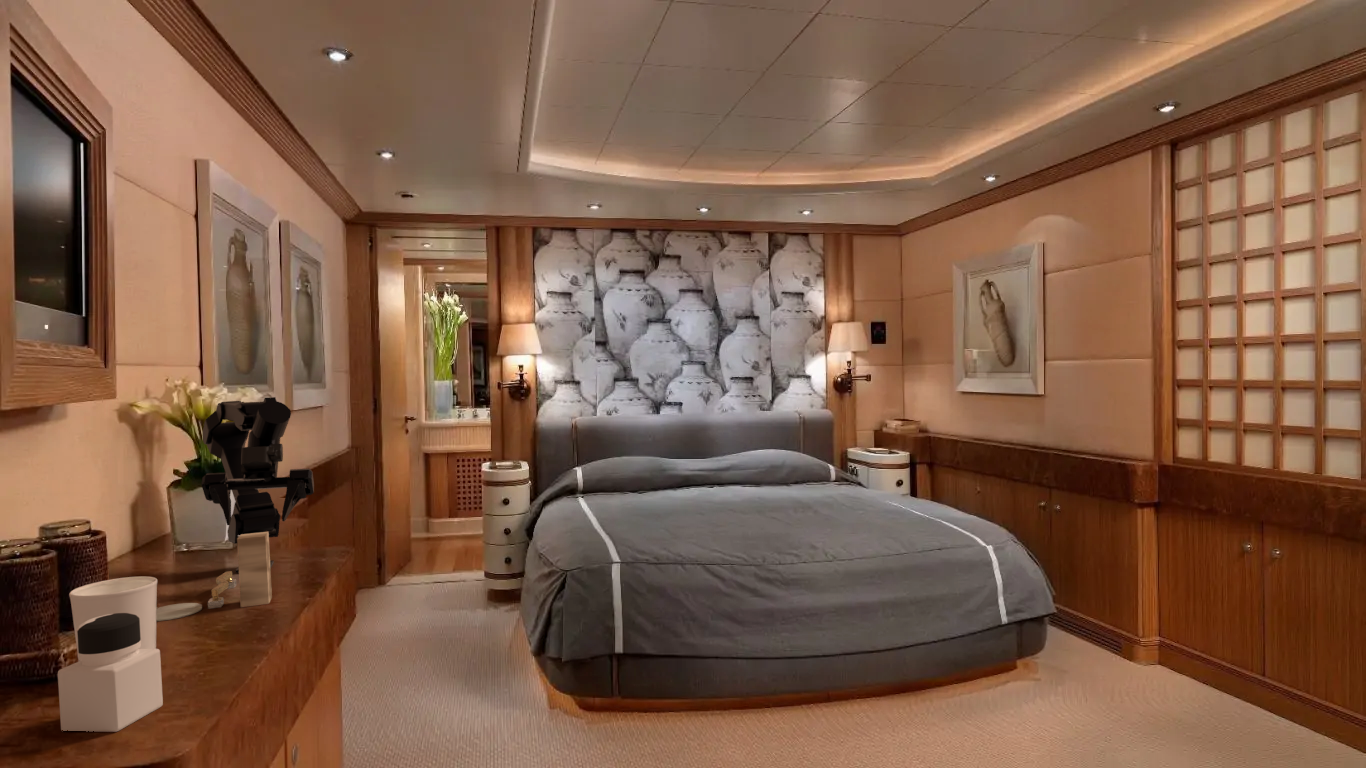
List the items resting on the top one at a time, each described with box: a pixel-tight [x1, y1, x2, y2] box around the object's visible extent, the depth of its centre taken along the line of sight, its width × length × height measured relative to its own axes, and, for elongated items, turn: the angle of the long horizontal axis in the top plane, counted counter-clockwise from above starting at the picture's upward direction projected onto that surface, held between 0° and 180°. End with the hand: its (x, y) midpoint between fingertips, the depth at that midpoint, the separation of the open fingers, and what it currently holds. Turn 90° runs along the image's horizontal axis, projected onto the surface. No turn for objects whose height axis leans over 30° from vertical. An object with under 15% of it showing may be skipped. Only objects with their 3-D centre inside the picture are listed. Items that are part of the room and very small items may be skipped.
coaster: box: [156, 602, 203, 622], centre depth 137 cm, size 9×9×1 cm
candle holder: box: [68, 575, 158, 662], centre depth 109 cm, size 10×10×12 cm
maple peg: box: [236, 531, 273, 608], centre depth 141 cm, size 4×4×12 cm
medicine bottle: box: [57, 613, 164, 733], centre depth 93 cm, size 7×7×12 cm
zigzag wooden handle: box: [207, 570, 237, 610], centre depth 147 cm, size 16×3×3 cm, turn 21°
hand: (256, 522), depth 149 cm, fingers open, 9 cm apart
